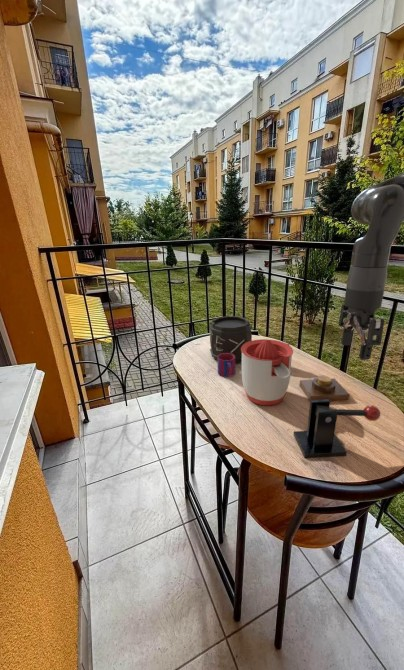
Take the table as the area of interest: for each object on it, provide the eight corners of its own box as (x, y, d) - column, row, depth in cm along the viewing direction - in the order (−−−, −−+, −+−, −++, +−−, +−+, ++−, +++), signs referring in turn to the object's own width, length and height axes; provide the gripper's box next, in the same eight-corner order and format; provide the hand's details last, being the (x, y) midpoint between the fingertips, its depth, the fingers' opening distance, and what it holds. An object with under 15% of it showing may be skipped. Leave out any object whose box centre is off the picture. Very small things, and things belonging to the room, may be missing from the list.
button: (327, 379, 93) (328, 375, 92) (332, 386, 89) (333, 381, 88) (315, 380, 93) (315, 375, 92) (320, 386, 89) (321, 381, 88)
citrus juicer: (260, 419, 81) (262, 356, 74) (232, 389, 96) (231, 335, 89) (303, 405, 86) (310, 345, 79) (270, 379, 101) (273, 327, 94)
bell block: (333, 383, 97) (335, 373, 95) (348, 400, 88) (350, 389, 86) (299, 385, 97) (300, 375, 95) (310, 402, 87) (311, 391, 86)
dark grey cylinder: (200, 356, 122) (198, 322, 116) (228, 344, 133) (228, 312, 127) (231, 370, 109) (231, 332, 103) (259, 355, 120) (260, 321, 114)
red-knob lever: (372, 414, 70) (376, 402, 69) (381, 424, 66) (385, 411, 65) (312, 413, 69) (315, 401, 68) (318, 422, 66) (321, 410, 65)
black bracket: (330, 433, 74) (336, 395, 70) (346, 456, 67) (353, 415, 63) (293, 435, 74) (297, 397, 70) (304, 458, 67) (309, 417, 63)
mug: (234, 368, 111) (234, 352, 108) (237, 381, 101) (237, 364, 99) (217, 369, 111) (216, 353, 108) (219, 382, 101) (218, 365, 99)
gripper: (403, 292, 56) (388, 364, 62) (364, 279, 70) (354, 339, 75) (366, 294, 56) (354, 365, 62) (334, 281, 70) (326, 341, 75)
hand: (354, 351), depth 69 cm, fingers open, 8 cm apart
